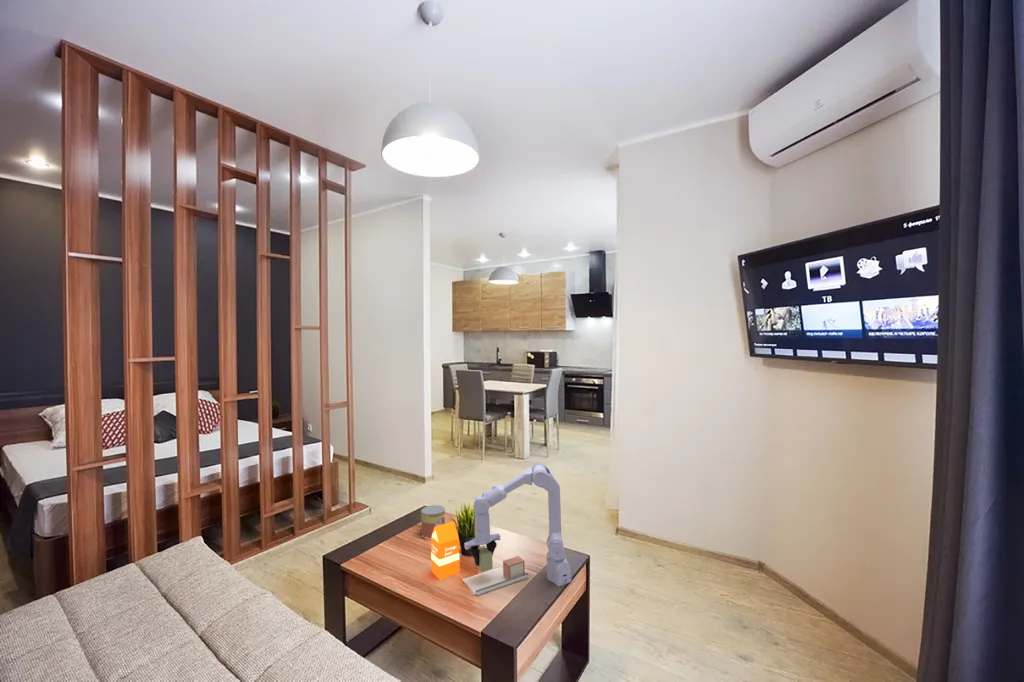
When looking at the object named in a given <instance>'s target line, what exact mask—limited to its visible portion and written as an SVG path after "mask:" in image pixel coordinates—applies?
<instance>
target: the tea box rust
mask: <svg viewBox="0 0 1024 682" xmlns="http://www.w3.org/2000/svg"><path fill="white" fill-rule="evenodd" d="M502 566H503V576H504V577H505V578H506V579H507V580H508V579H511V578H513V577H516V576H519V575H522V574H525V573H526V572H525V560H523V558H521V557H520V556H519V555H517V556H514V557H510V558H508V559H503V561H502Z"/></svg>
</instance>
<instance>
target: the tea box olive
mask: <svg viewBox="0 0 1024 682" xmlns="http://www.w3.org/2000/svg"><path fill="white" fill-rule="evenodd" d="M477 547H478V549H479V550H480V553H479V566H477V565H476V564H475V560H474V559H473V565H474V566H475V567H476V568H477V569H478V570H479V571H480V572H481V573H483V572H486V571H489V570H492V569H494V568H493V556H492V553H491V552H490V551H489V550H488V549H487V547H486V546H485V545H481V546H477Z"/></svg>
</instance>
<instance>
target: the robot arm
mask: <svg viewBox="0 0 1024 682" xmlns="http://www.w3.org/2000/svg"><path fill="white" fill-rule="evenodd" d="M533 484H534V485H535V486H536V487H538V488H542V489H544V490H545V491H546V492H547V497H548V498H547V500H548V501H547V505H548V507H547V508H548V536H547V539H546V545H547V548H548V549H547V553H546V575H547V576H546V577H547V580H548V581H549V582H551V583H554V584H555V585H556V586H557V587H561V586H564V585H566V584H569V583H571V582H572V566H571V564H570V563H569V562H568V560H567V558H566V550H565V549H566V548H565V546H564V541H563V535H562V515H561V514H562V513H561V488H560V483H559V482H558V480H557V479H556V478H555V476H554V475H553V473H552V472H551V470H550V469H549V468H548V467H547V466H546V465H545V464H542V463H536V464H534V465H532V466H530V467H528V468H526V469H525V470H524V471H522V472H521V473H519V474H518V475H516V476H514V478H512V479H511V480H509V481H508V482H506V483H505V484H502V485H501V484H497V485H495V484H494V485H492V487H491V489H489V490H487V491H486V492H485V491H484V492H481V494H479V495H477V496H475V499H474V501H473V510H474V538H472V539H471V540H469V541H466V542H464V544H463V545H464V549H465V550H470V553H471V554H472V557H473V561H474V560H475V564H476V565H477V566H479V553H480V550H479V549H478V547H480V546H485V545H486V546H485V547H486V548H487V549H488V550H489V551H490V552H491V553H492V557H493V556H494V552H495V549H496V548H497V542H496V541H498V542H500V541H501V535H500V534H499V533H494V534H493V533H492V534H490V533H491V531H490V530H491V527H490V526H491V525H490V514H489V513H490V512H489V509H490V508H492V507H494V506H495V505H497V504H499V503H500V502H502V501H504V500H505V499H506V498H507V495H508V493H510V492H513V491H515V490H516V489H518V488H519V487H522V486H524V485H528V486H533Z"/></svg>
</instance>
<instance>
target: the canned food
mask: <svg viewBox="0 0 1024 682" xmlns="http://www.w3.org/2000/svg"><path fill="white" fill-rule="evenodd" d="M445 509H446V508H445V507H444V506H442V505H435V504H434V505H428V506H425V507H423V508H422V509H421V510H420V514H421V515H420V516H421V536H422V535H423V536H424V537H428V538H431V536H432V533H433V530H434V528H435V527H436V526H439V525H443V524H446V523H445V522H446V521H445V520H446V519H445V518H446V517H445V515H446V514H445Z"/></svg>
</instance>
